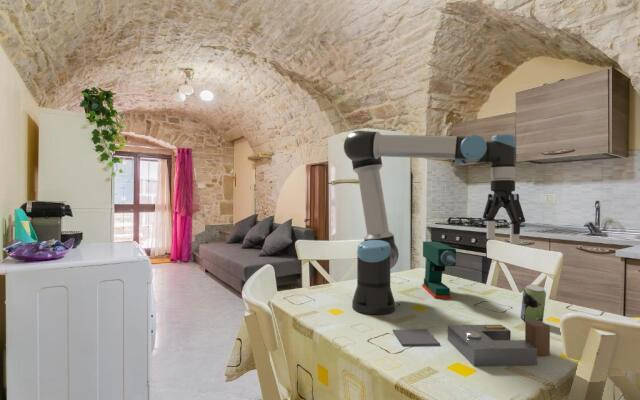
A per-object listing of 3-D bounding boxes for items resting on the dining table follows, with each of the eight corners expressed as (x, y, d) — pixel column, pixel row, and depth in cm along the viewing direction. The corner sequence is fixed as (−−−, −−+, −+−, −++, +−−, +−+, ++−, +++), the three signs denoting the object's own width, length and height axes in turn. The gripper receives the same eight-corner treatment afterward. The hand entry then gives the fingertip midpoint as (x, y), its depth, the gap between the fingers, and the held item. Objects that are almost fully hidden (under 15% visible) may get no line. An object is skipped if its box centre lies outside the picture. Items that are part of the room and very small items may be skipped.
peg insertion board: (474, 366, 81) (474, 346, 81) (447, 339, 96) (447, 323, 96) (536, 365, 82) (537, 345, 82) (500, 338, 97) (501, 322, 97)
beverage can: (532, 319, 115) (533, 282, 115) (551, 327, 107) (551, 288, 107) (515, 320, 114) (515, 283, 113) (532, 328, 106) (533, 289, 106)
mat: (402, 347, 92) (402, 343, 92) (392, 333, 102) (392, 329, 102) (439, 347, 93) (439, 343, 93) (426, 332, 103) (426, 329, 103)
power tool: (466, 310, 124) (467, 253, 123) (446, 309, 124) (447, 253, 124) (438, 286, 156) (438, 241, 155) (422, 286, 156) (422, 241, 155)
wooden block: (524, 351, 91) (524, 320, 91) (538, 350, 91) (539, 319, 91) (535, 358, 87) (535, 326, 87) (550, 357, 87) (550, 325, 87)
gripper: (538, 178, 110) (537, 246, 110) (492, 181, 135) (491, 237, 135) (515, 178, 109) (514, 246, 109) (473, 181, 134) (472, 237, 134)
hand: (501, 241), depth 122 cm, fingers open, 13 cm apart
